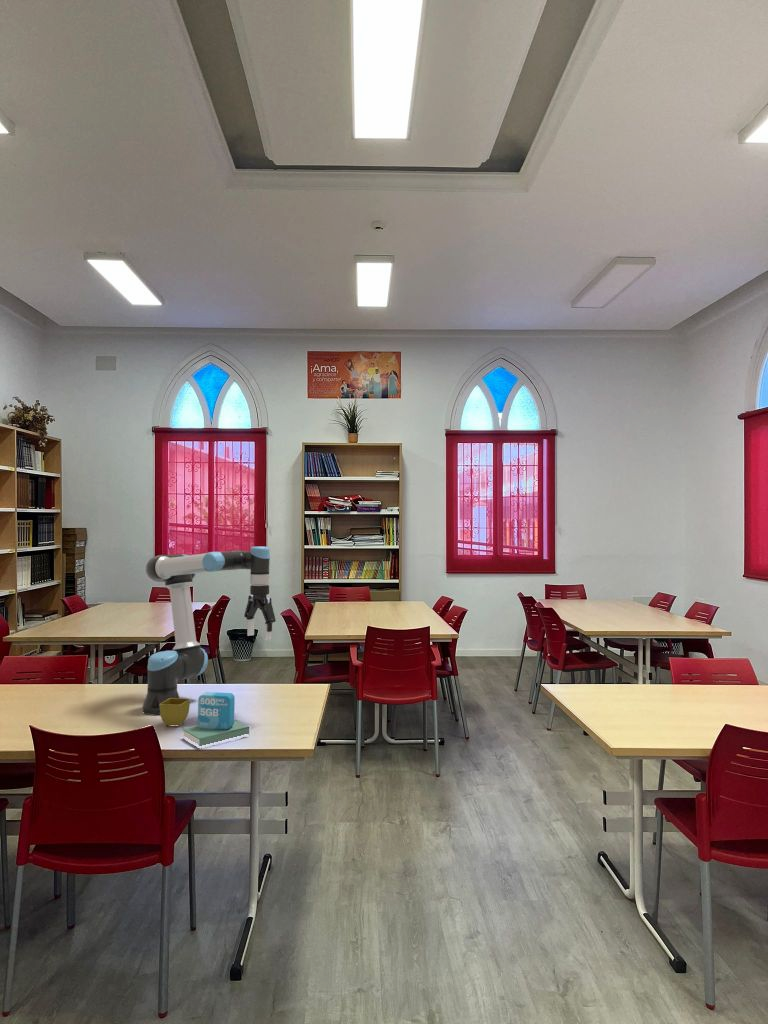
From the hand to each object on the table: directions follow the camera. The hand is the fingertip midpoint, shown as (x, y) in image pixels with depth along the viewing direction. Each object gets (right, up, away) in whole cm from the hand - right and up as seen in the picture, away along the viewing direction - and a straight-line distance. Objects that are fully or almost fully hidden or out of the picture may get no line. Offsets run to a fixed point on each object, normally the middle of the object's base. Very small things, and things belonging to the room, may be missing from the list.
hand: (259, 637), depth 244 cm
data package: (-10, -28, -25) cm, 39 cm away
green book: (-10, -31, -25) cm, 42 cm away
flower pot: (-30, -32, -11) cm, 45 cm away
